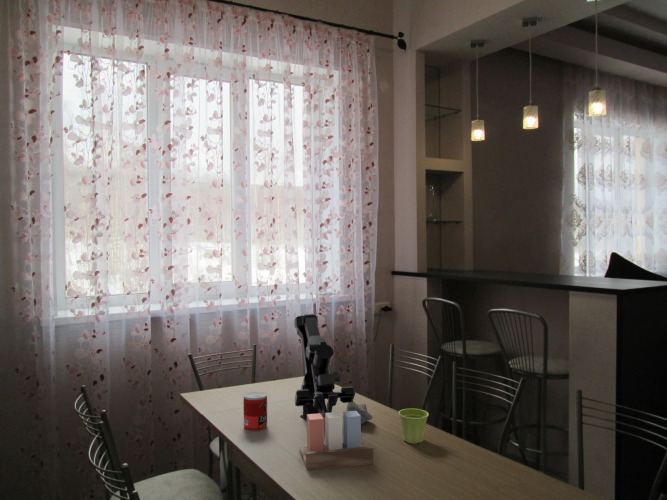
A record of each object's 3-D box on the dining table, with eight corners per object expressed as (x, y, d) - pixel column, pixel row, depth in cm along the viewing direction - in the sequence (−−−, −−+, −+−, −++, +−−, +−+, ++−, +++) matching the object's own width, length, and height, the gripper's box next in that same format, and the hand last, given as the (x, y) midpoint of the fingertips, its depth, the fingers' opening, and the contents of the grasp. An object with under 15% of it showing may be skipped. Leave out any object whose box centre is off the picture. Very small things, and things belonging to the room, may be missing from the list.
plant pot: (430, 437, 172) (430, 410, 172) (426, 447, 163) (425, 419, 163) (402, 433, 175) (401, 407, 175) (395, 444, 166) (395, 416, 166)
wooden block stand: (299, 452, 160) (299, 437, 160) (361, 446, 164) (361, 432, 164) (306, 470, 147) (306, 453, 147) (373, 463, 151) (373, 447, 151)
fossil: (379, 425, 183) (379, 401, 183) (359, 430, 178) (358, 406, 178) (358, 416, 192) (358, 394, 192) (338, 421, 187) (338, 398, 187)
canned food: (263, 431, 177) (262, 398, 177) (240, 430, 179) (239, 397, 178) (270, 424, 185) (270, 392, 184) (248, 422, 186) (248, 391, 186)
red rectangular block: (307, 448, 158) (307, 414, 158) (320, 446, 159) (320, 413, 159) (310, 454, 153) (309, 419, 153) (323, 453, 154) (323, 418, 154)
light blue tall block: (343, 444, 160) (343, 411, 160) (356, 443, 161) (356, 410, 161) (347, 451, 156) (347, 416, 155) (360, 450, 156) (360, 415, 156)
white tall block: (325, 446, 159) (325, 412, 159) (338, 445, 160) (338, 412, 160) (328, 452, 154) (328, 418, 154) (342, 451, 155) (342, 417, 155)
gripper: (295, 364, 167) (301, 410, 156) (353, 361, 171) (363, 405, 160) (292, 383, 175) (297, 428, 164) (347, 379, 179) (356, 423, 168)
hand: (328, 421), depth 164 cm, fingers closed
